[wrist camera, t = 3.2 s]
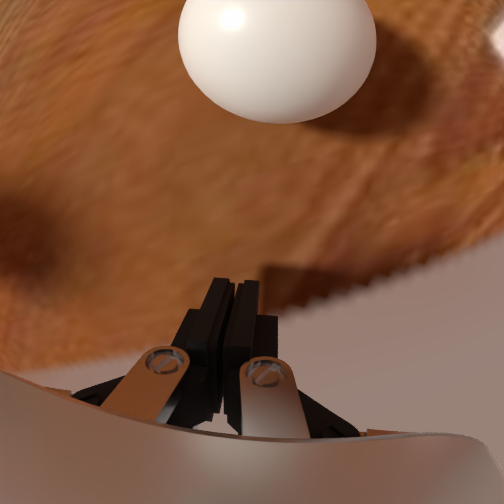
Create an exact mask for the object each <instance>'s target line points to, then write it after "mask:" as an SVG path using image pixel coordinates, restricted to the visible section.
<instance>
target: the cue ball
mask: <svg viewBox="0 0 504 504" xmlns="http://www.w3.org/2000/svg"><path fill="white" fill-rule="evenodd" d="M178 42H179V49H180V53H181V56H182V60H183V63H184V65H185V67H186V70H187V72H188V74H189V75H190V77H191V78H192V80H193V81H194V83H195V84H196V85H197V86H198V87H199V89H200V90H201V91H202V92H203V93H204V94H205V95H206V96H207V97H208V98H209V99H211V100H212V101H213V102H214V103H216V104H217V105H219V106H220V107H222V108H223V109H225V110H227V111H229V112H231V113H233V114H235V115H238V116H241V117H244V118H247V119H249V120H254V121H258V122H263V123H272V124H289V123H298V122H303V121H307V120H312V119H315V118H318V117H320V116H323V115H326V114H328V113H330V112H332V111H334V110H335V109H337V108H338V107H340V106H341V105H343V104H344V103H346V102H347V101H348V100H349V99H350V98H351V97H352V96H353V95H354V94H355V93H356V92H357V91H358V90H359V88H360V87H361V86H362V85H363V83H364V82H365V80H366V78H367V76H368V75H369V72H370V70H371V67H372V64H373V62H374V58H375V53H376V29H375V23H374V20H373V17H372V14H371V12H370V9H369V7H368V5H367V3H366V1H365V0H187V1H186V3H185V5H184V8H183V10H182V13H181V17H180V22H179V32H178Z"/></svg>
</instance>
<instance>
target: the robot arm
mask: <svg viewBox="0 0 504 504" xmlns="http://www.w3.org/2000/svg"><path fill="white" fill-rule="evenodd" d="M234 295H235V284H234V283H230V281H229V279H227V278H214V279H213V281H212V284H211V286H210V288H209V290H208V293H207V295H206V297H205V299H204V301H203V304H202V306H201V308H200V310H199V309H189V310H188V312H187V314H186V316H185V318H184V320H183V322H182V324H181V326H180V328H179V330H178V332H177V334H176V336H175V338H174V340H173V342H172V344H171V346H159V347H155V348H152V349H150V350H148V351H147V352H146V353H145V354H143V355H142V357H141V358H140V359H139V360H138V361H137V363H136V364H135V365H134V366H133V367H132V369H131V370H130V371H129V372H128V373H127V375H125V376H122V377H119V378H116V379H113V380H110V381H107V382H104V383H101V384H98V385H95V386H92V387H89V388H86V389H82V390H80V391H78V392H76V393H75V394H74V395H73V393H72V391H68V390H61V389H55V388H49V387H43V386H40V385H38V384H35V383H33V382H31V381H28V380H25V379H23V378H20V377H18V376H16V375H13V374H10V373H7V372H4V371H1V370H0V504H504V470H503V469H502V467H501V465H500V463H499V462H498V460H497V458H496V457H495V455H494V454H493V452H492V451H491V450H490V449H489V448H488V447H487V446H486V445H485V444H484V443H482V442H481V441H479V440H478V439H475V438H472V437H469V436H464V435H459V434H451V433H438V432H422V433H419V432H418V433H417V432H397V431H384V430H372V429H367V430H366V432H359V431H358V430H357V429H356V428H355V427H354V426H353V425H351V424H350V423H348V422H347V421H345V420H343V419H342V418H340V417H339V416H337V415H336V414H334V413H333V412H331V411H329V410H328V409H327V408H325V407H323V406H322V405H321V404H319V403H318V402H316V401H314V400H313V399H312V398H310V397H308V396H307V395H306V394H304V393H303V392H301V391H300V390H298V389H297V386H296V383H295V379H294V375H293V372H292V370H291V368H290V366H289V365H288V364H287V363H285V362H284V361H282V360H280V359H278V316H268V315H257V313H258V297H259V281H254V280H245V281H244V284H242V283H239V284H238V288H237V292H236V295H235V299H234ZM223 397H224V398H223ZM222 399H223V400H224V414H226V415H227V422H228V424H229V425H230V426H231V427H232V428H233V429H235V430H236V431H237V432H238V435H234V434H225V433H217V432H209V431H202V430H198V424H200V423H202V422H204V421H210V422H212V418H213V414H214V413H220V408H221V403H222Z"/></svg>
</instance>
